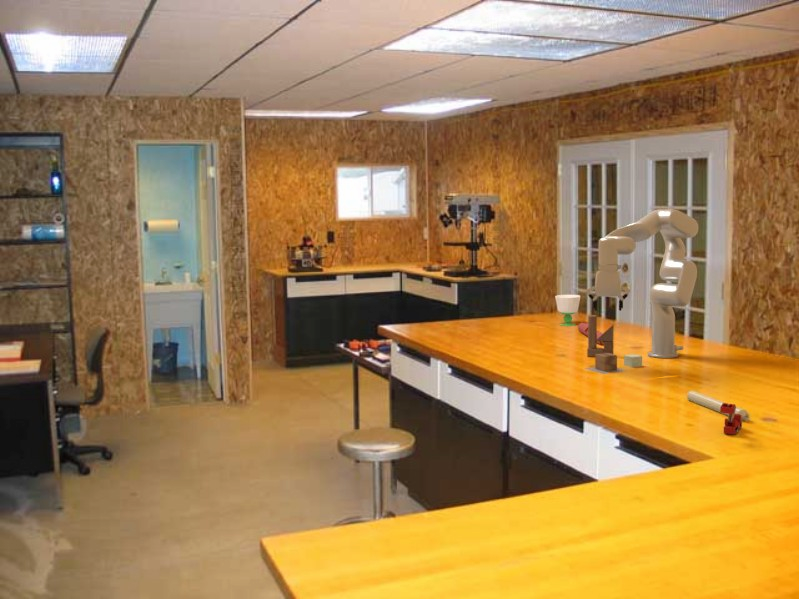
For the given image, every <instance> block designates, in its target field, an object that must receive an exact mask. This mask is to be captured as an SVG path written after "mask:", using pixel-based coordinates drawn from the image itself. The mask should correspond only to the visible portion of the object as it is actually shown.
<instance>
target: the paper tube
mask: <svg viewBox="0 0 799 599" xmlns="http://www.w3.org/2000/svg"><path fill="white" fill-rule="evenodd" d="M686 398H687V400H688V401H689V400H690V401H689V402H692V403H694V402H695V404H697V405H699V406H702V407H704V406H705V407H704V408H706V409H709V408H710V410H712V411H714V410H715V412H717V413H720V407H721V405H722V404H723V403H726V402H725V401H722V400H720V399H719V400H718V399H716V398H713V397H710V396H708V395H706V394H702V393H700V392H697V391H695V390H690V391H688V392H687V394H686ZM721 414H723V415H725V416H727V417H728V416H729V414H727V413H721ZM735 414H740V415H741V416H742V421H744V422H746V423H747V422H749V421H750V420H751V419H752V414H751V413H748V411H747V410H746V409H744V408H741V407H738V406H736V411H735Z"/></svg>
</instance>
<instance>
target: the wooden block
mask: <svg viewBox="0 0 799 599" xmlns="http://www.w3.org/2000/svg"><path fill="white" fill-rule="evenodd" d="M587 320H588V324H587V325H588V336H587V337H588V340H587V341H588V343H587V346H588V347H587V351H586V352H587V353H586V354H587V357H591V358H592V357H593V358H594V357H595V354H602V353H610V354H614V324H612V325H610V327H609V328H608V329H607V330H605V331H604V332H603V333H602V335H601V336H600V337H599V338H598V339H597V331H598V330H597V329H598V328H597V326H598V325H597V323H598V315H596V314H590V315H588V319H587ZM597 341H604V345H603V347H598V346H597V344H598V343H597Z"/></svg>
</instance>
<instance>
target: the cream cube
mask: <svg viewBox="0 0 799 599" xmlns="http://www.w3.org/2000/svg"><path fill="white" fill-rule="evenodd" d="M623 366H626V367H629V368H638V367H639V368H640V367H643V356H642V355H639V354H625V355H623Z"/></svg>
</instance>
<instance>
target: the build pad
mask: <svg viewBox="0 0 799 599" xmlns="http://www.w3.org/2000/svg"><path fill="white" fill-rule="evenodd" d="M584 369H586V370H588V371H591V372H595V373H599V374H603V375H605V374H612V373H613V374H614V373H620V372H622V373H623V372H627V371H628V369H627V370H626V369H624V368H619V367H617V370H613V371H605V372H604V371H601V370H597V369H595V366H593V367H592V366H591V367H587V368H586V367H584Z"/></svg>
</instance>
